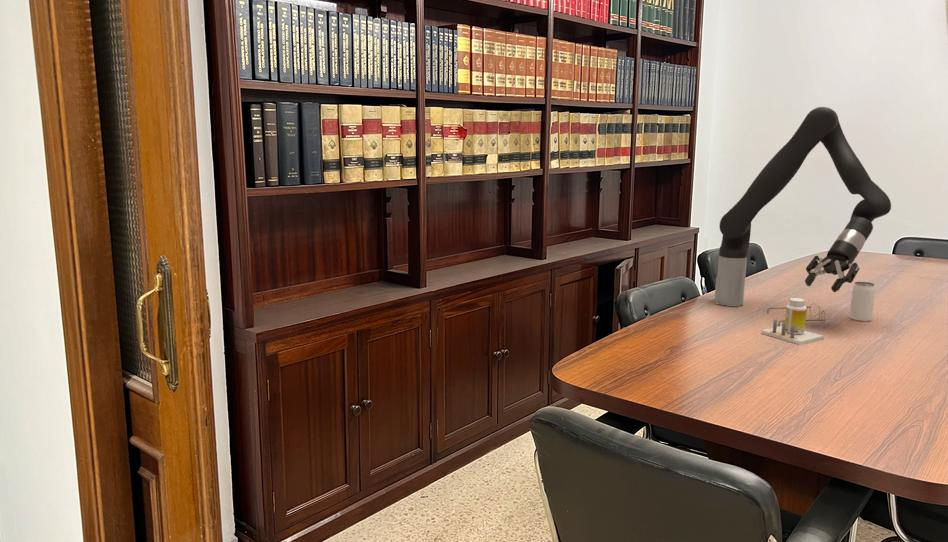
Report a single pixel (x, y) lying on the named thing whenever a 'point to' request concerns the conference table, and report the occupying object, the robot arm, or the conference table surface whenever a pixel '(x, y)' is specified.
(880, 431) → the conference table surface
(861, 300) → the can
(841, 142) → the robot arm
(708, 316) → the conference table surface
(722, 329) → the conference table surface
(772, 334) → the header board
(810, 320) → the eyeglasses
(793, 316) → the supplement bottle
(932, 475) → the conference table surface
